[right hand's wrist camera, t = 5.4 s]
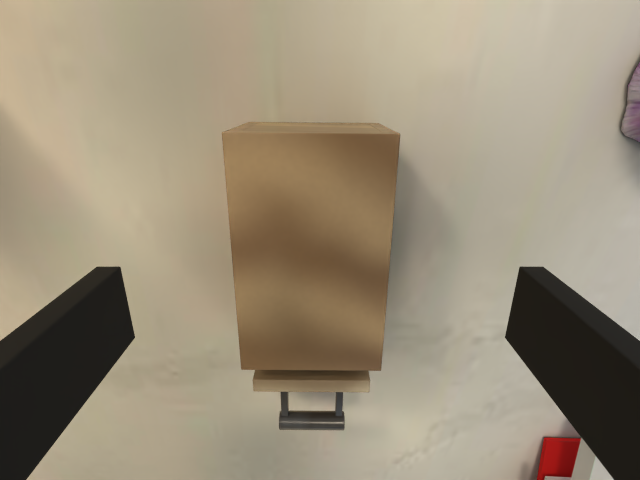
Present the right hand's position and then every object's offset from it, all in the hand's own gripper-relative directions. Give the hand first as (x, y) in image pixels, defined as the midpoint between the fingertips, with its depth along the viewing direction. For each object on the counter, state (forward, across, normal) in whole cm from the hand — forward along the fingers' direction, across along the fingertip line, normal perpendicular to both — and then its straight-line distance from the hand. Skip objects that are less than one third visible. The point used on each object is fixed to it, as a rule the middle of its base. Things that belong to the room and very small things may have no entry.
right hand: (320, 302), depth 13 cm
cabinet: (+21, -1, -4) cm, 21 cm away
